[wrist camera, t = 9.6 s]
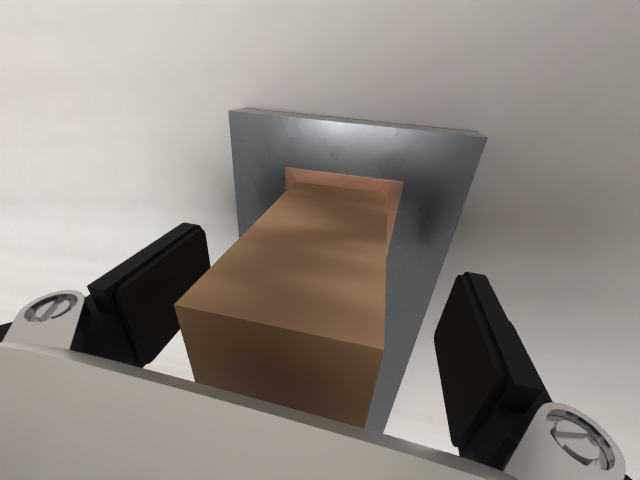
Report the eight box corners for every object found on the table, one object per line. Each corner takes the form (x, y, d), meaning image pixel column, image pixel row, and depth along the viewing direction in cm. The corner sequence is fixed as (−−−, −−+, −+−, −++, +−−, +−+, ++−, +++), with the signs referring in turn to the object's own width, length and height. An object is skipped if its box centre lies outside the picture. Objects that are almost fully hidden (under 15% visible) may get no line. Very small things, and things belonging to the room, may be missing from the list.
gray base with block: (476, 131, 11) (591, 192, 5) (379, 423, 22) (375, 561, 16) (244, 108, 13) (97, 130, 6) (261, 392, 24) (213, 505, 17)
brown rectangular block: (387, 193, 12) (384, 349, 5) (368, 296, 14) (349, 489, 7) (295, 182, 12) (173, 304, 5) (294, 282, 15) (213, 448, 8)
